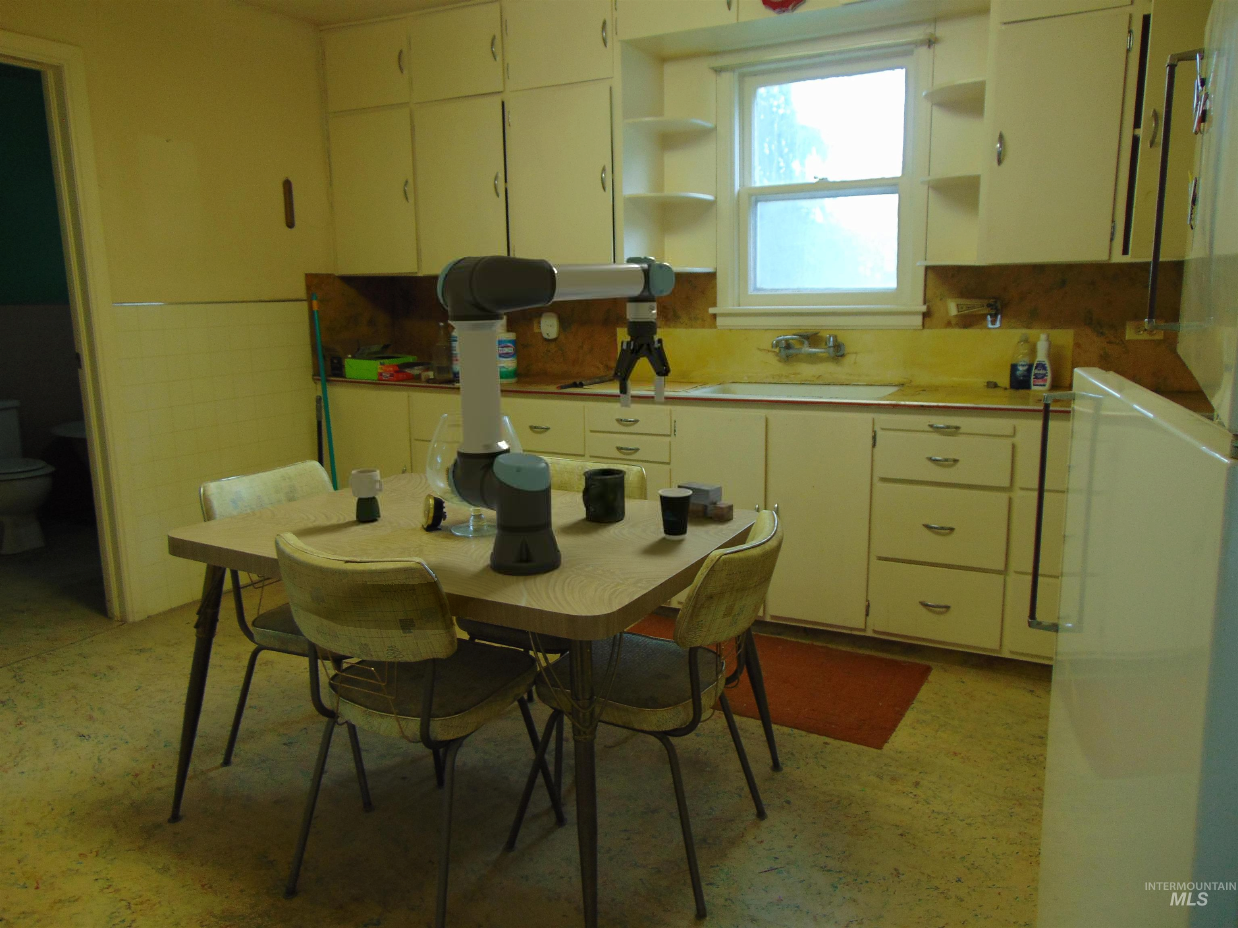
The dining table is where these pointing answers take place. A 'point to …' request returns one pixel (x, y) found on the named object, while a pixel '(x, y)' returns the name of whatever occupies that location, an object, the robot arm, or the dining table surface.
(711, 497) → the clip
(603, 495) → the mug
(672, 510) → the dixie cup
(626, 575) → the dining table surface
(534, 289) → the robot arm
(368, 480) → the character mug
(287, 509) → the dining table surface
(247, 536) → the dining table surface
